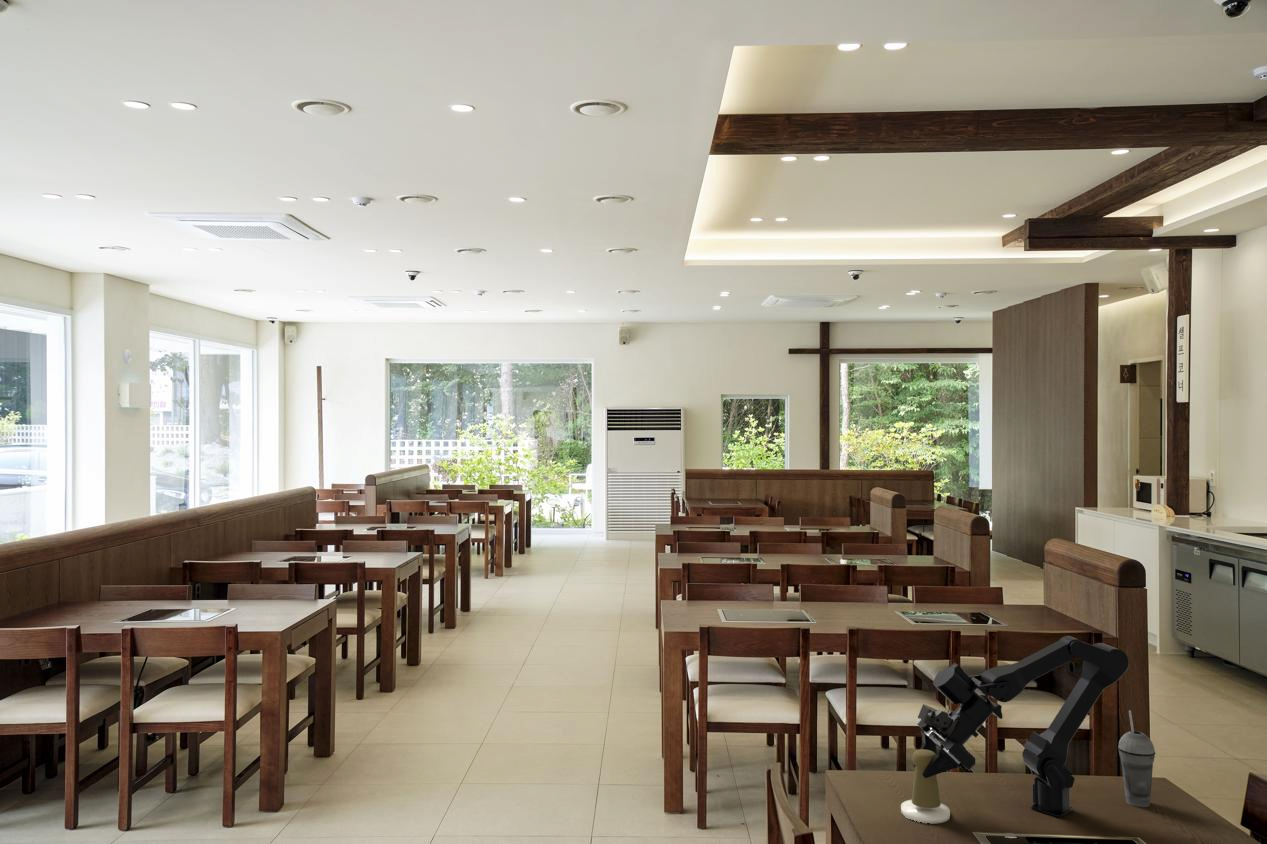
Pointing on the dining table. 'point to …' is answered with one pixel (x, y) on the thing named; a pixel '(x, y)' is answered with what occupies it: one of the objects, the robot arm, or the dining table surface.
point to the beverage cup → (1136, 766)
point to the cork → (924, 781)
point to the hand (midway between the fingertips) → (919, 771)
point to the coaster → (925, 813)
